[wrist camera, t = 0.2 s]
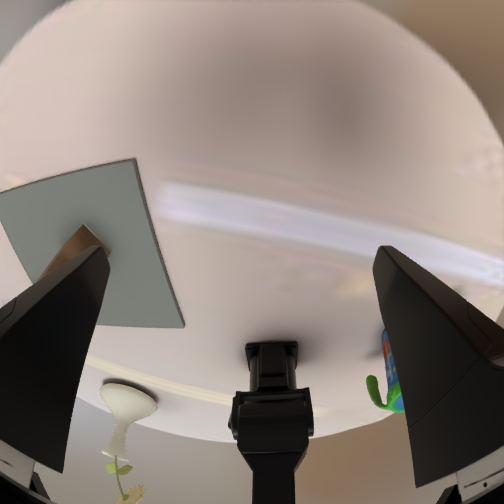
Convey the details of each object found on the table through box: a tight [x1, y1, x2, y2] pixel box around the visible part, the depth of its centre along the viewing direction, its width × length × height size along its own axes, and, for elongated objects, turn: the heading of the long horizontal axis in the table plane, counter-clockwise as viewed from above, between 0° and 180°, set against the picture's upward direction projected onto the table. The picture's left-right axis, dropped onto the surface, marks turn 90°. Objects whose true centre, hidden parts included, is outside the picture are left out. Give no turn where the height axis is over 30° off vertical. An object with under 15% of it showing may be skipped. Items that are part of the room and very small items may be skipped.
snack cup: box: [366, 330, 405, 412], centre depth 30 cm, size 16×10×10 cm
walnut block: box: [37, 223, 112, 282], centre depth 23 cm, size 4×5×8 cm
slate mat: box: [0, 159, 185, 328], centre depth 28 cm, size 20×20×1 cm
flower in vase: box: [100, 383, 157, 504], centre depth 37 cm, size 13×11×25 cm
